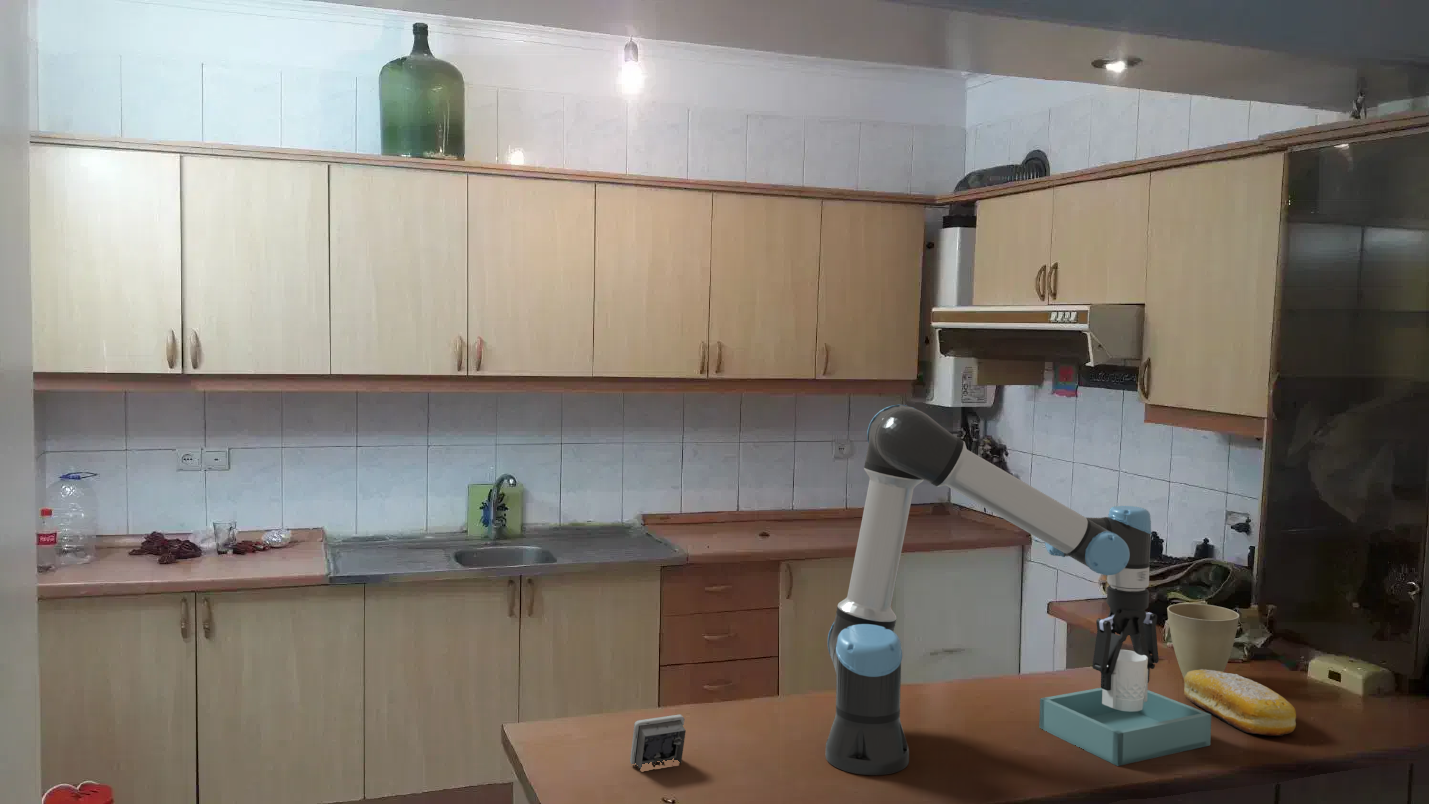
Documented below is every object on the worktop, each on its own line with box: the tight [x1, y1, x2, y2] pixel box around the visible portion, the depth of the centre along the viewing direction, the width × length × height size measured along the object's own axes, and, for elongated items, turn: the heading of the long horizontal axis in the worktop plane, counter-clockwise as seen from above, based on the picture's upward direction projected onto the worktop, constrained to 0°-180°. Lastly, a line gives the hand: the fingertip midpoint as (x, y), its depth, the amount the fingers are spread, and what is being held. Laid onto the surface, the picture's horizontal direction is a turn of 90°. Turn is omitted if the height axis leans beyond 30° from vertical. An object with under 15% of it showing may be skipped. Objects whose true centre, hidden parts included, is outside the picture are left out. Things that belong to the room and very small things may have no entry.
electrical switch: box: [629, 714, 686, 769], centre depth 183 cm, size 9×5×9 cm, turn 113°
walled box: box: [1038, 687, 1212, 767], centre depth 200 cm, size 24×20×6 cm
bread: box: [1183, 669, 1297, 737], centre depth 211 cm, size 13×26×8 cm, turn 10°
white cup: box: [1107, 649, 1148, 712], centre depth 199 cm, size 8×8×10 cm
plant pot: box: [1166, 602, 1240, 679], centre depth 234 cm, size 15×15×16 cm
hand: (1124, 702), depth 199 cm, fingers closed on white cup, 8 cm apart
